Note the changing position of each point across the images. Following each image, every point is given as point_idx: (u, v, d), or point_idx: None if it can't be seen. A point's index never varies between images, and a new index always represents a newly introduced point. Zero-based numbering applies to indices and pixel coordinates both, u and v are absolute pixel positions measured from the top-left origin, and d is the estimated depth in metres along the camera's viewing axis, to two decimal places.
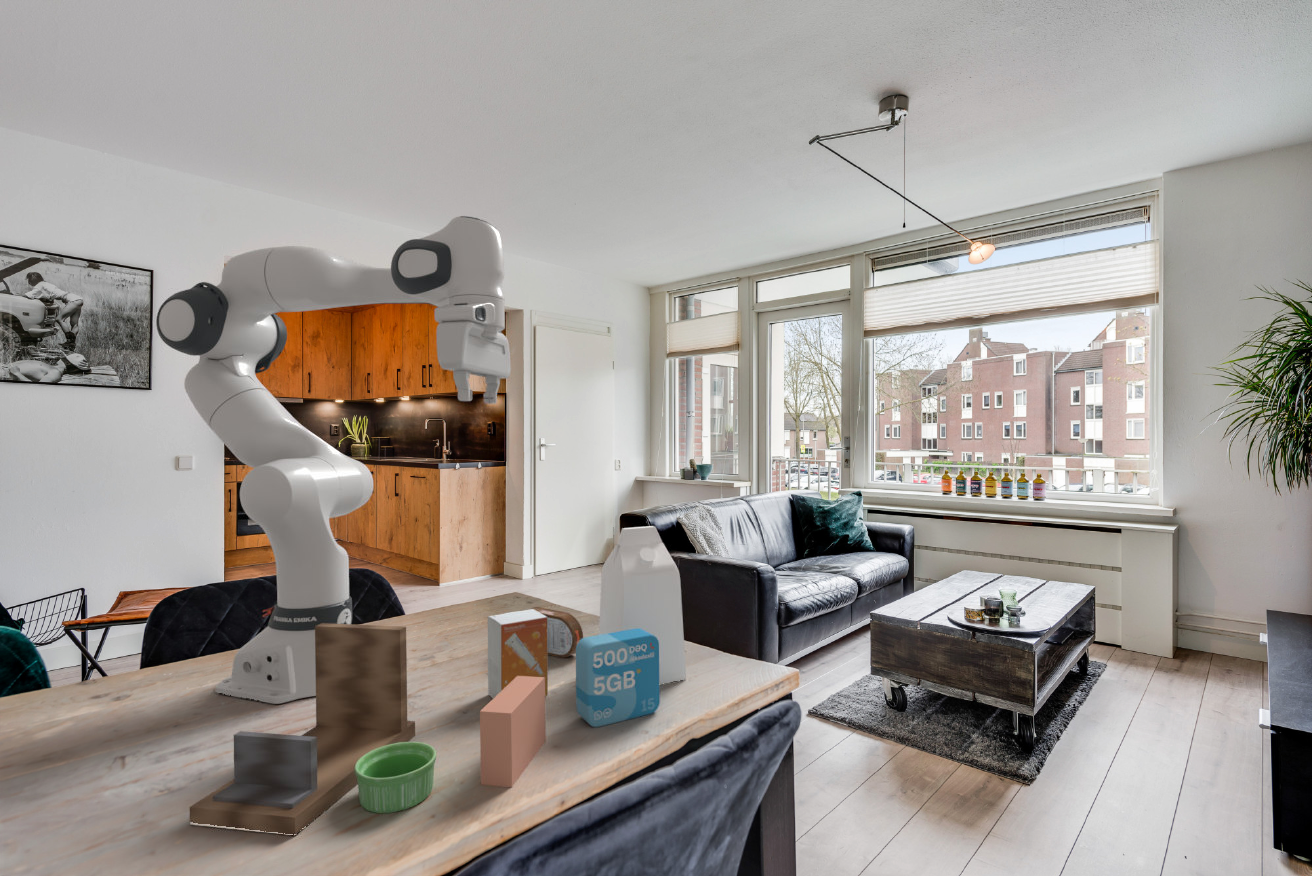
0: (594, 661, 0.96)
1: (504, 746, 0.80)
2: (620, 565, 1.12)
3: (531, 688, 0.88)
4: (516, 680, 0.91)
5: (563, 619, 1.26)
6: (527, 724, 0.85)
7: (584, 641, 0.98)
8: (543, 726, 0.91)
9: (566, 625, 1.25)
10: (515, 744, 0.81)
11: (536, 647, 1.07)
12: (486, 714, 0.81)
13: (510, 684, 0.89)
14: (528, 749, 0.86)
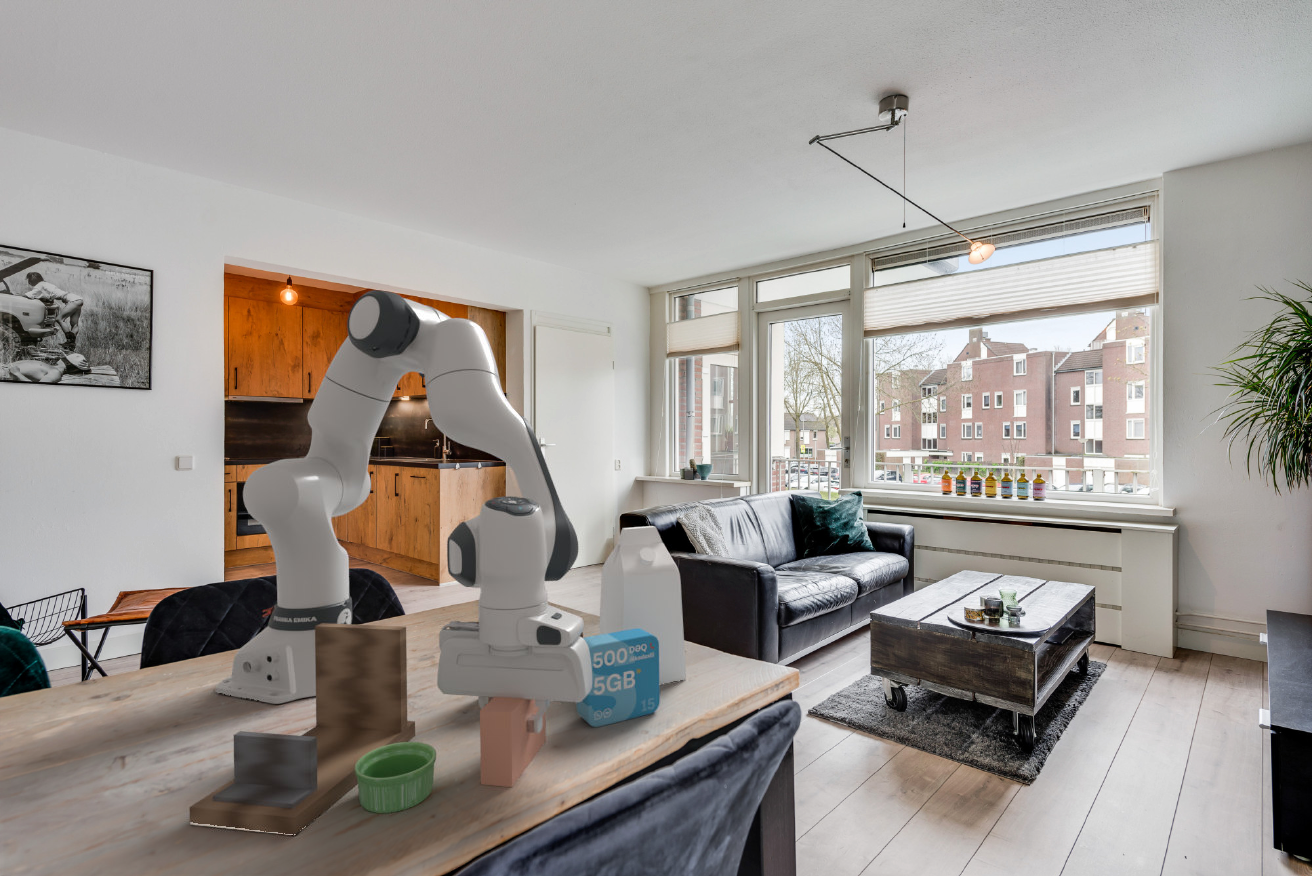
0: (594, 661, 0.96)
1: (504, 746, 0.80)
2: (620, 565, 1.12)
3: None
4: None
5: None
6: None
7: None
8: (543, 725, 0.91)
9: None
10: (515, 743, 0.81)
11: None
12: (486, 714, 0.81)
13: None
14: (528, 749, 0.86)
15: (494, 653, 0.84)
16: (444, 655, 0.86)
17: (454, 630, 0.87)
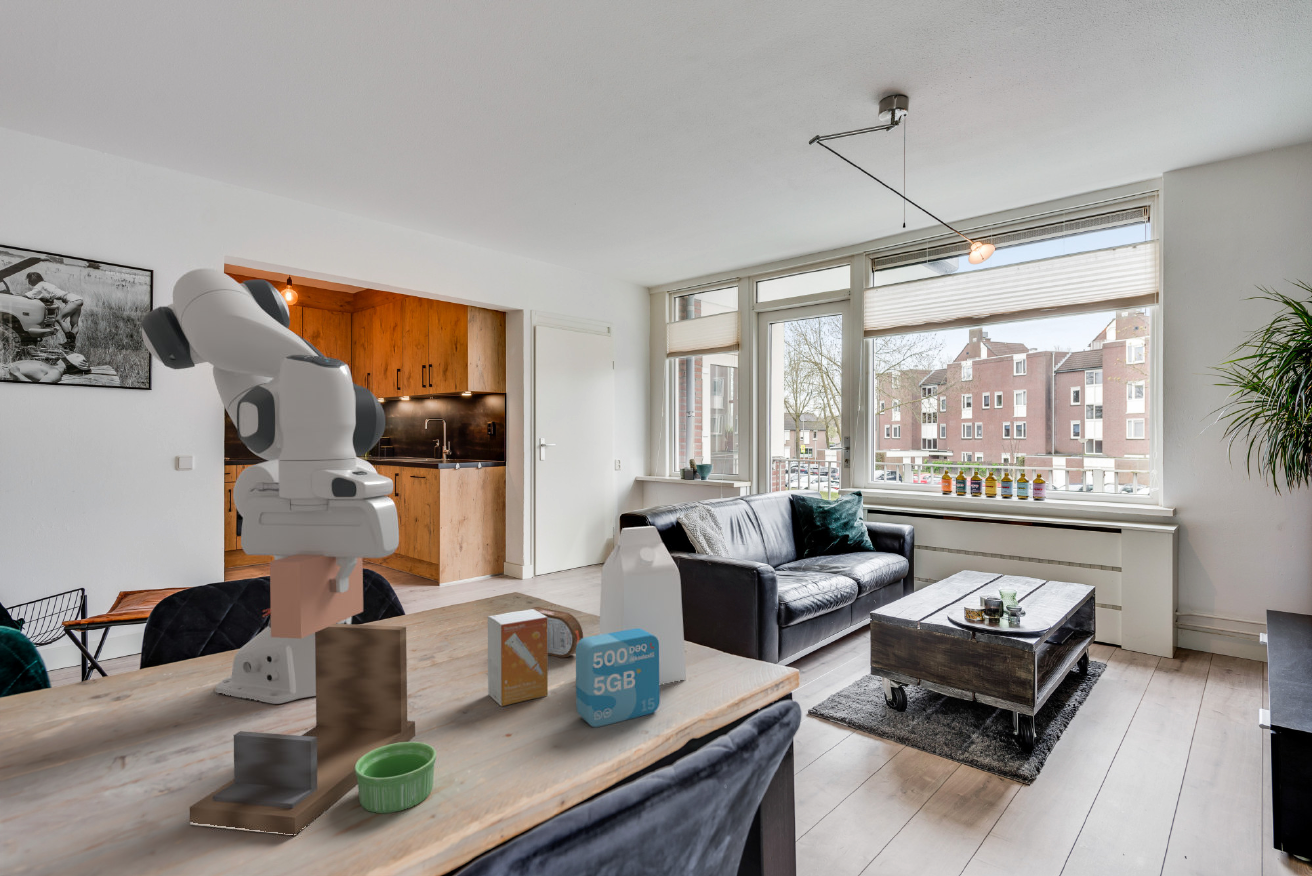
0: (594, 661, 0.96)
1: (293, 596, 0.78)
2: (620, 565, 1.12)
3: None
4: None
5: (563, 619, 1.26)
6: None
7: (584, 641, 0.98)
8: (359, 594, 0.89)
9: (566, 625, 1.25)
10: (307, 596, 0.79)
11: (536, 646, 1.07)
12: (275, 564, 0.79)
13: None
14: (332, 609, 0.84)
15: (292, 508, 0.82)
16: (247, 514, 0.84)
17: (260, 491, 0.86)
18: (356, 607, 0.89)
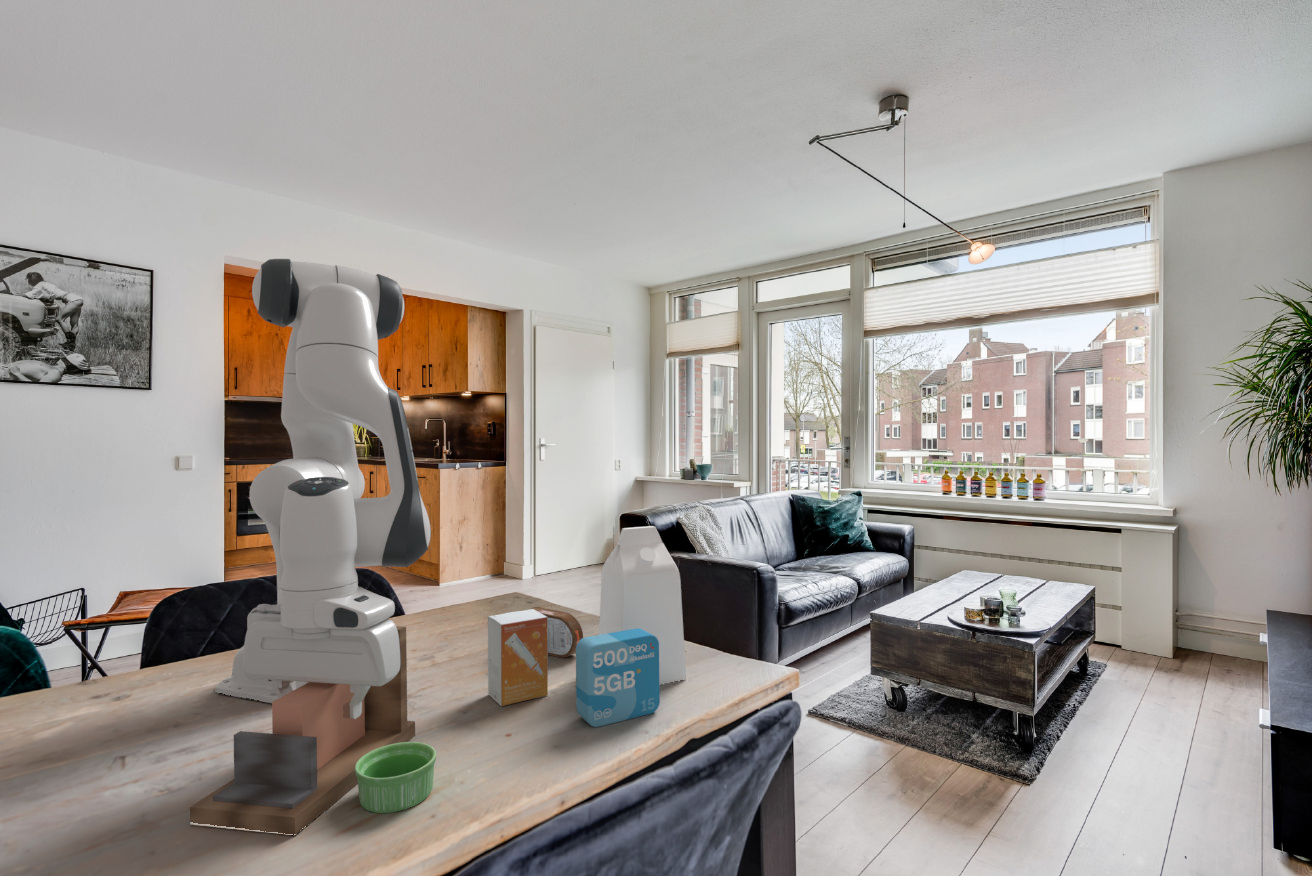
0: (594, 661, 0.96)
1: None
2: (620, 565, 1.12)
3: None
4: None
5: (563, 619, 1.26)
6: (332, 716, 0.83)
7: (584, 641, 0.98)
8: (361, 718, 0.89)
9: (566, 625, 1.25)
10: (309, 735, 0.80)
11: (536, 647, 1.07)
12: (278, 705, 0.79)
13: None
14: (334, 741, 0.84)
15: (294, 636, 0.82)
16: (248, 638, 0.84)
17: (261, 613, 0.86)
18: (358, 732, 0.89)
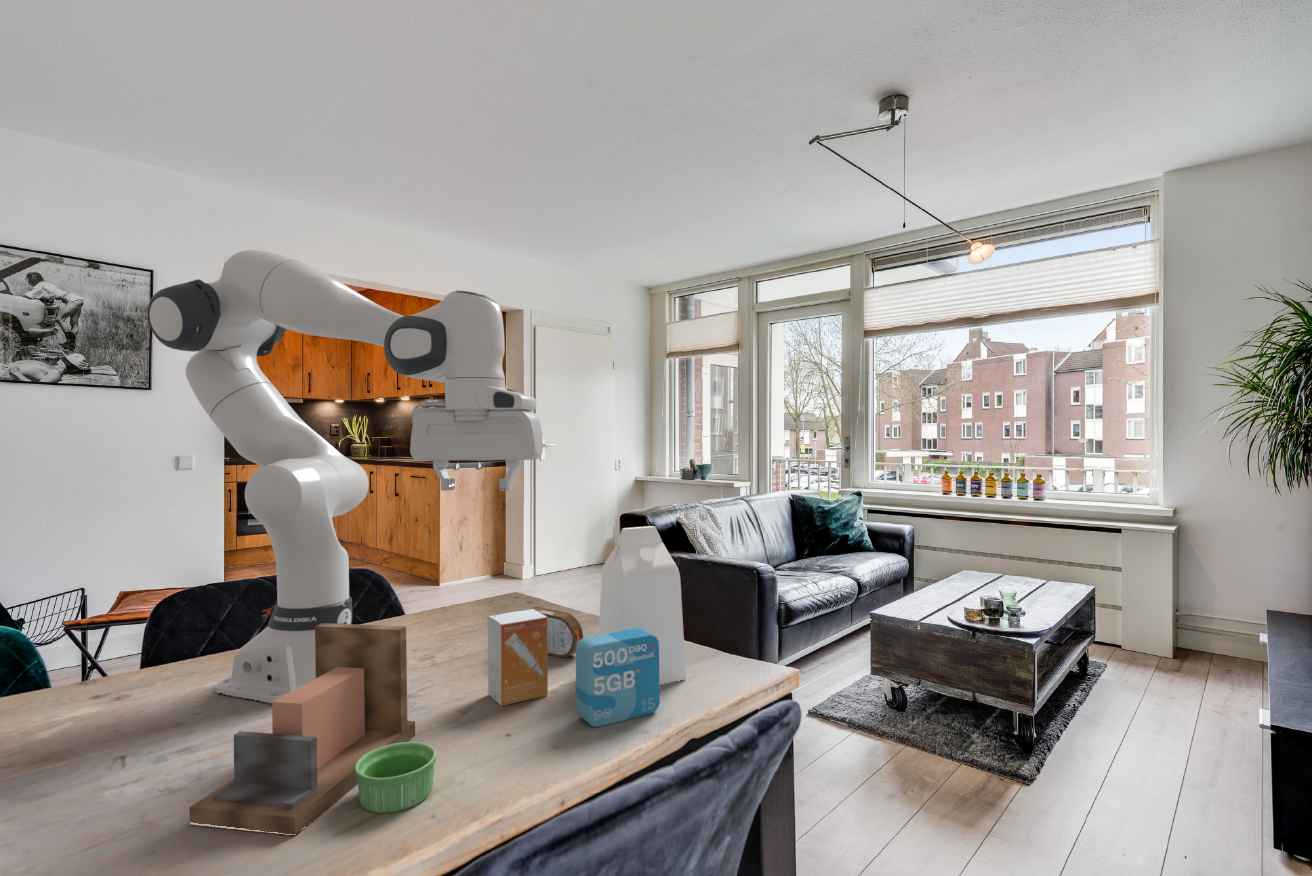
0: (594, 661, 0.96)
1: None
2: (620, 565, 1.12)
3: (342, 678, 0.86)
4: (332, 671, 0.89)
5: (563, 619, 1.26)
6: (332, 716, 0.83)
7: (584, 641, 0.98)
8: (361, 718, 0.89)
9: (566, 625, 1.25)
10: (309, 735, 0.80)
11: (536, 647, 1.07)
12: (278, 705, 0.79)
13: (323, 675, 0.87)
14: (334, 741, 0.84)
15: (458, 419, 0.98)
16: (416, 426, 1.01)
17: (424, 407, 1.02)
18: (358, 732, 0.89)
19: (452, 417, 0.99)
